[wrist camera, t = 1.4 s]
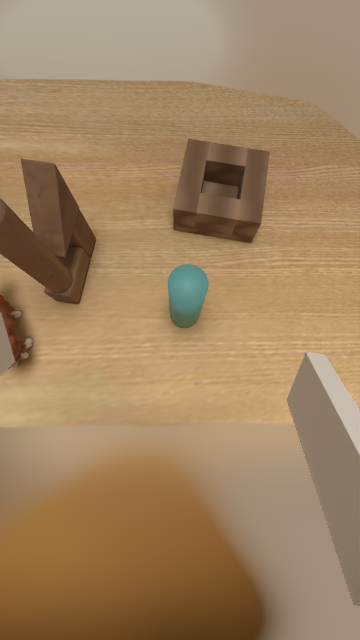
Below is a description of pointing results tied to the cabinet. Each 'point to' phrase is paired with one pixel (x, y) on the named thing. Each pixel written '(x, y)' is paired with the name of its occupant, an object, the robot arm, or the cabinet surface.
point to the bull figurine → (9, 322)
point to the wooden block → (48, 234)
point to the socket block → (221, 191)
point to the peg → (186, 294)
